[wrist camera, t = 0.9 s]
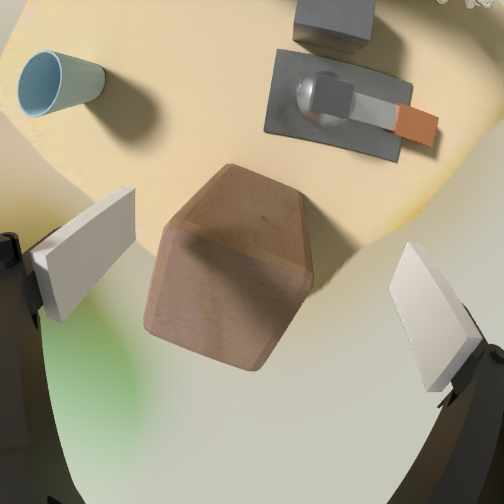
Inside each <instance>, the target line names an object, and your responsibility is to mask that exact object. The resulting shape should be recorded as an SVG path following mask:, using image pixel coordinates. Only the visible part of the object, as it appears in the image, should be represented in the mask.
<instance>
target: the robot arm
mask: <svg viewBox="0 0 504 504" xmlns="http://www.w3.org/2000/svg"><path fill="white" fill-rule="evenodd" d="M135 240H136V237H135V188H129V187H120V188H118V189H117V190H115V191H114V192H112V193H111V194H109V195H107V196H106V197H104V198H103V199H101V200H100V201H98V202H97V203H95V204H94V205H92V206H91V207H89V208H88V209H86V210H85V211H83V212H82V213H81V214H79V215H78V216H76V217H75V218H73V219H72V220H71V221H69V222H68V223H66V224H65V225H64V226H62V227H59V228H57V229H54V230H53V231H52V232H50V233H49V234H48V235H47V236H45V237H44V238H42V239H41V240H40V241H38V242H37V243H36V244H35V245H33V246H32V247H31V248H29V249H28V250H27V251H26V252H25V253H23V254H22V253H21V248H20V244H19V239H18V235H17V234H16V233H12V232H6V233H1V234H0V504H85V502H84V500H83V498H82V497H81V495H80V494H79V492H78V491H77V489H76V487H75V486H74V483H73V481H72V479H71V475H70V473H69V469H68V467H67V463H66V460H65V457H64V454H63V450H62V447H61V443H60V440H59V436H58V432H57V428H56V424H55V419H54V415H53V410H52V406H51V401H50V396H49V390H48V384H47V378H46V371H45V364H44V356H43V348H42V337H41V325H40V317H39V313H38V310H39V309H40V308H41V306H42V305H44V309H45V312H46V315H47V317H48V318H50V319H53V320H56V321H58V322H60V323H63V322H64V321H65V319H66V318H67V317H68V316H69V314H70V313H71V312H72V311H73V310H74V308H75V307H76V306H77V305H78V304H79V302H80V301H81V300H82V299H83V298H84V296H85V295H86V294H87V293H88V292H89V291H90V289H91V288H92V287H93V286H94V285H95V284H96V282H97V281H98V280H99V279H100V278H101V277H102V276H103V275H104V274H105V272H106V271H107V270H108V269H109V268H110V267H111V266H112V265H113V263H114V262H115V261H116V260H117V259H118V258H119V257H120V256H121V255H122V254H123V253H124V252H125V251H126V249H127V248H128V247H129V246H130V245H131V244H132V243H133V242H134V241H135ZM388 289H389V292H390V294H391V297H392V299H393V302H394V304H395V307H396V309H397V311H398V314H399V316H400V319H401V322H402V324H403V327H404V329H405V332H406V335H407V337H408V340H409V343H410V345H411V348H412V351H413V354H414V357H415V359H416V362H417V365H418V368H419V371H420V374H421V377H422V380H423V383H424V386H425V390H426V392H442V391H443V389H444V388H445V387H446V386H447V385H448V384H449V382H450V381H451V383H452V386H453V389H452V391H451V392H450V393H449V394H448V395H447V396H446V398H445V399H444V400H443V401H442V402H441V403H440V404H439V405H438V408H440V407H441V406H442V405H443V407H442V410H441V412H440V414H439V416H438V418H437V420H436V422H435V424H434V426H433V428H432V430H431V432H430V434H429V436H428V438H427V440H426V442H425V444H424V445H423V447H422V449H421V451H420V453H419V454H418V456H417V458H416V460H415V461H414V463H413V465H412V466H411V468H410V470H409V471H408V473H407V474H406V476H405V478H404V479H403V481H402V482H401V484H400V485H399V487H398V488H397V490H396V491H395V493H394V494H393V496H392V497H391V498H390V500H389V501H388V503H387V504H504V350H503V349H501V348H500V347H499V346H497V345H494V344H488V343H487V341H486V339H485V338H484V336H483V334H482V332H481V331H480V329H479V327H478V326H477V324H476V322H475V321H474V319H473V318H472V316H471V314H470V313H469V311H468V309H467V308H466V307H465V306H464V305H463V304H462V303H461V302H460V300H459V299H458V297H457V296H456V294H455V292H454V291H453V289H452V288H451V287H450V285H449V284H448V282H447V281H446V279H445V278H444V276H443V275H442V273H441V272H440V271H439V269H438V268H437V266H436V265H435V264H434V262H433V261H432V260H431V258H430V257H429V255H428V254H427V253H426V251H425V250H424V249H423V247H422V246H421V245H420V244H416V243H412V242H407V245H406V247H405V250H404V252H403V254H402V257H401V259H400V262H399V264H398V267H397V269H396V271H395V274H394V276H393V278H392V281H391V283H390V285H389V287H388Z"/></svg>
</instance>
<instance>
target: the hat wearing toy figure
mask: <svg viewBox="0 0 504 504" xmlns="http://www.w3.org/2000/svg"><path fill="white" fill-rule="evenodd" d="M436 1H437V2H438V3H440V4H444V3H446V2H447V1H448V0H436ZM477 1H478V2H479V3H481V4H482V5H483V6H485V8H487V7H488V8H490V7H491V3H493V2H494V0H477ZM465 4H466V5H467V6H466V7H467V8H469V9H471V8H473V7H474V6H475V5H478V6H481V5H479V4H477V3H476V2H475V0H465Z"/></svg>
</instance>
